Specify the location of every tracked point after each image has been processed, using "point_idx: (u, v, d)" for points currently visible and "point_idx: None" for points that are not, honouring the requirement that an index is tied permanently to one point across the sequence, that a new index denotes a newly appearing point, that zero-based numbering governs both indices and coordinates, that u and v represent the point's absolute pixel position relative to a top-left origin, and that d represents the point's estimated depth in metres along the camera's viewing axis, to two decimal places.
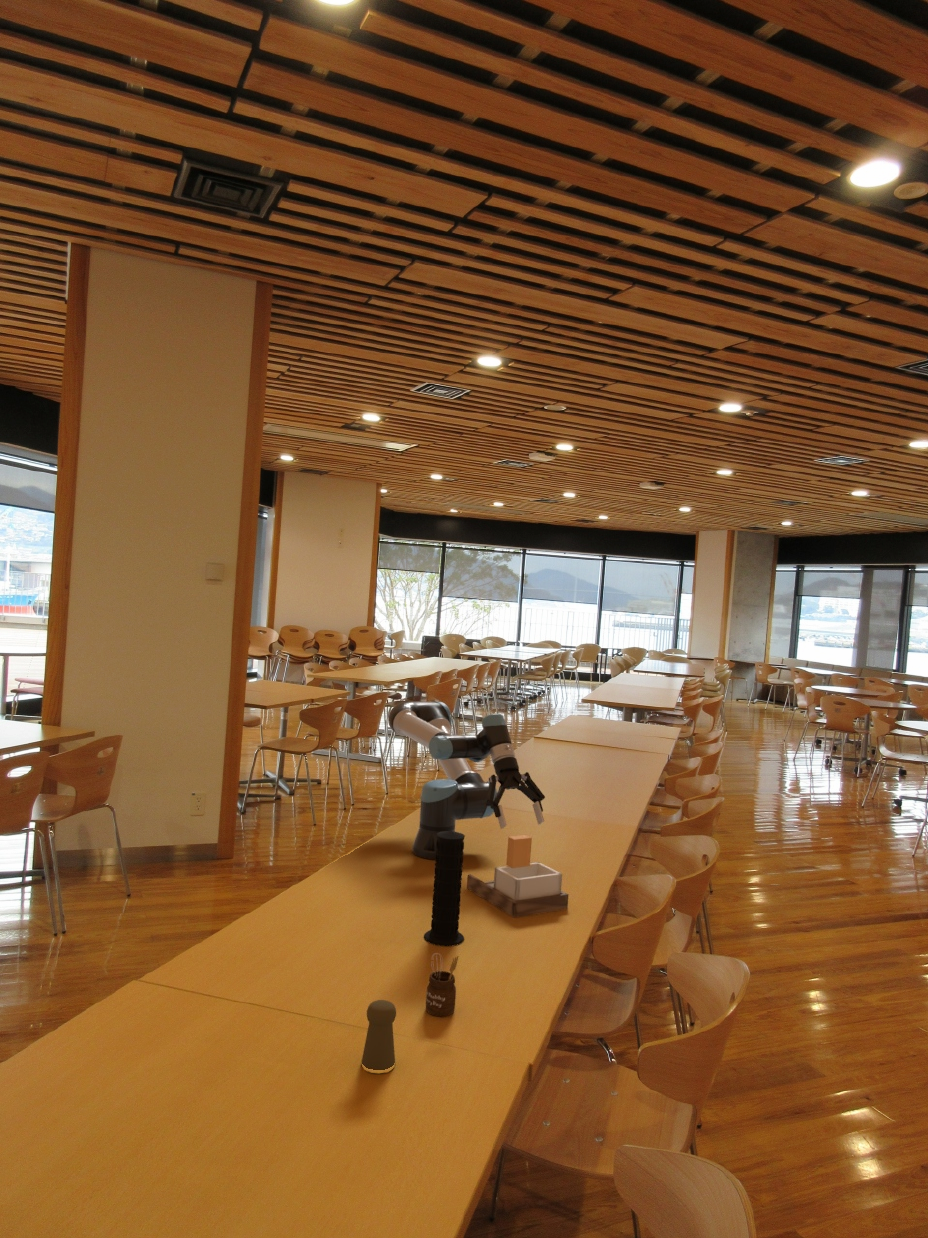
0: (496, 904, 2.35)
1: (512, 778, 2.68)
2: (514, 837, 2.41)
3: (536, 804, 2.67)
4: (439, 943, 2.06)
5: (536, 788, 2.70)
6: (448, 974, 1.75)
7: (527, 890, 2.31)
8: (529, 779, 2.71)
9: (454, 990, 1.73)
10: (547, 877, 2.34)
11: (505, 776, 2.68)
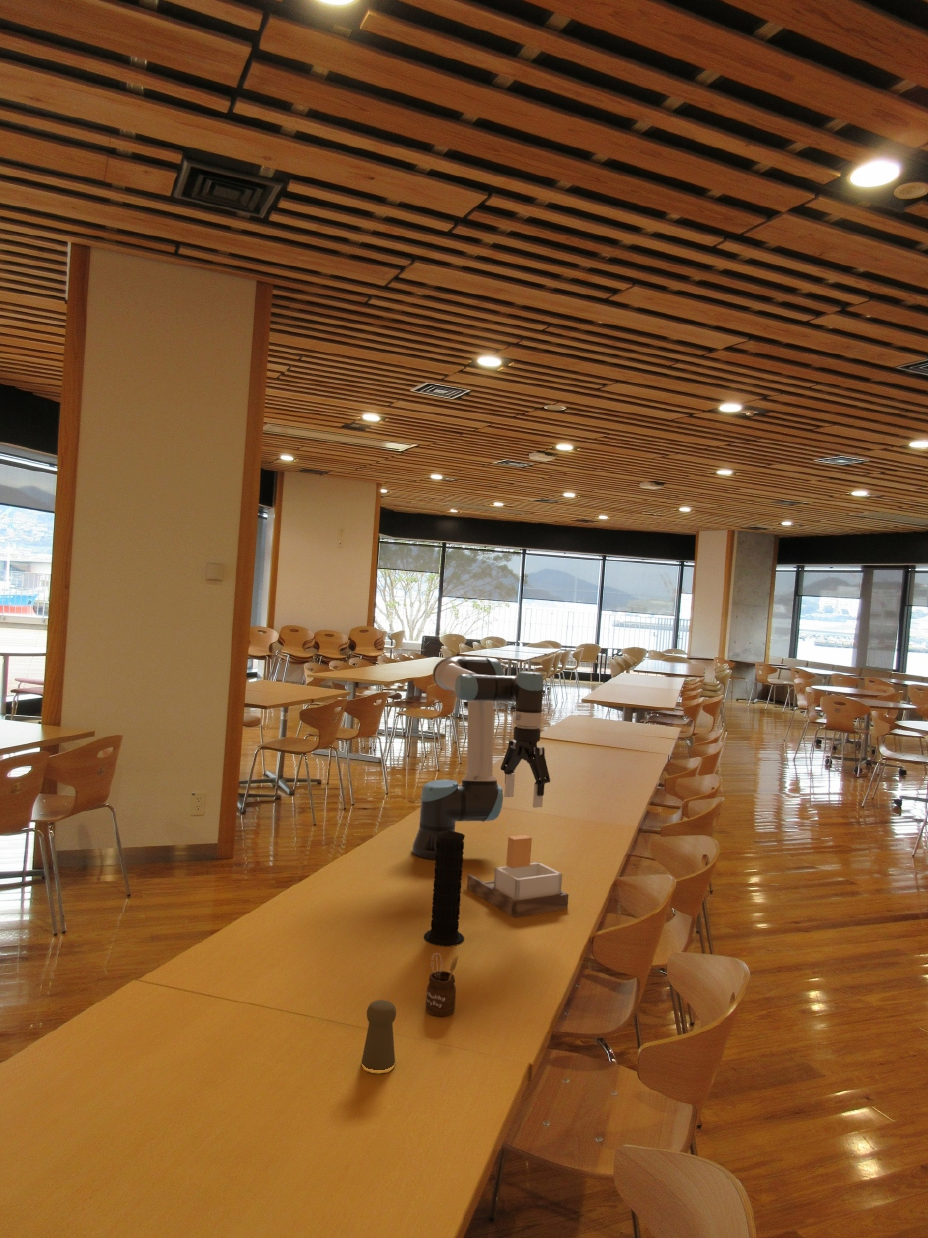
0: (496, 904, 2.35)
1: None
2: (514, 837, 2.41)
3: None
4: (439, 943, 2.06)
5: (538, 769, 2.35)
6: (448, 974, 1.75)
7: (527, 890, 2.31)
8: (536, 756, 2.37)
9: (454, 990, 1.73)
10: (547, 877, 2.34)
11: (518, 745, 2.44)
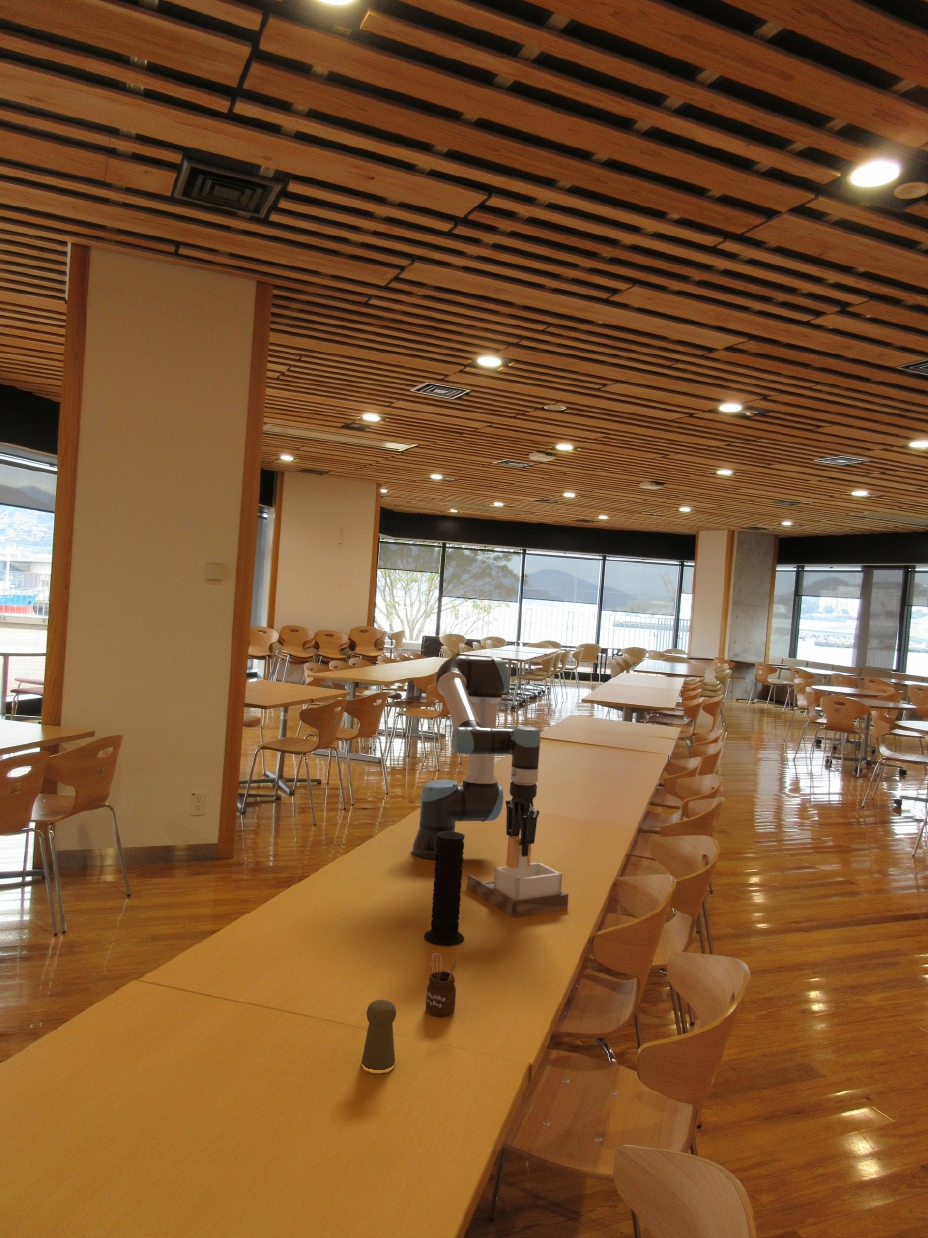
0: (496, 904, 2.35)
1: (519, 804, 2.41)
2: (514, 837, 2.41)
3: None
4: (439, 943, 2.06)
5: (527, 830, 2.37)
6: (448, 974, 1.75)
7: (527, 890, 2.31)
8: (528, 818, 2.37)
9: (454, 990, 1.73)
10: (547, 877, 2.34)
11: (514, 798, 2.43)
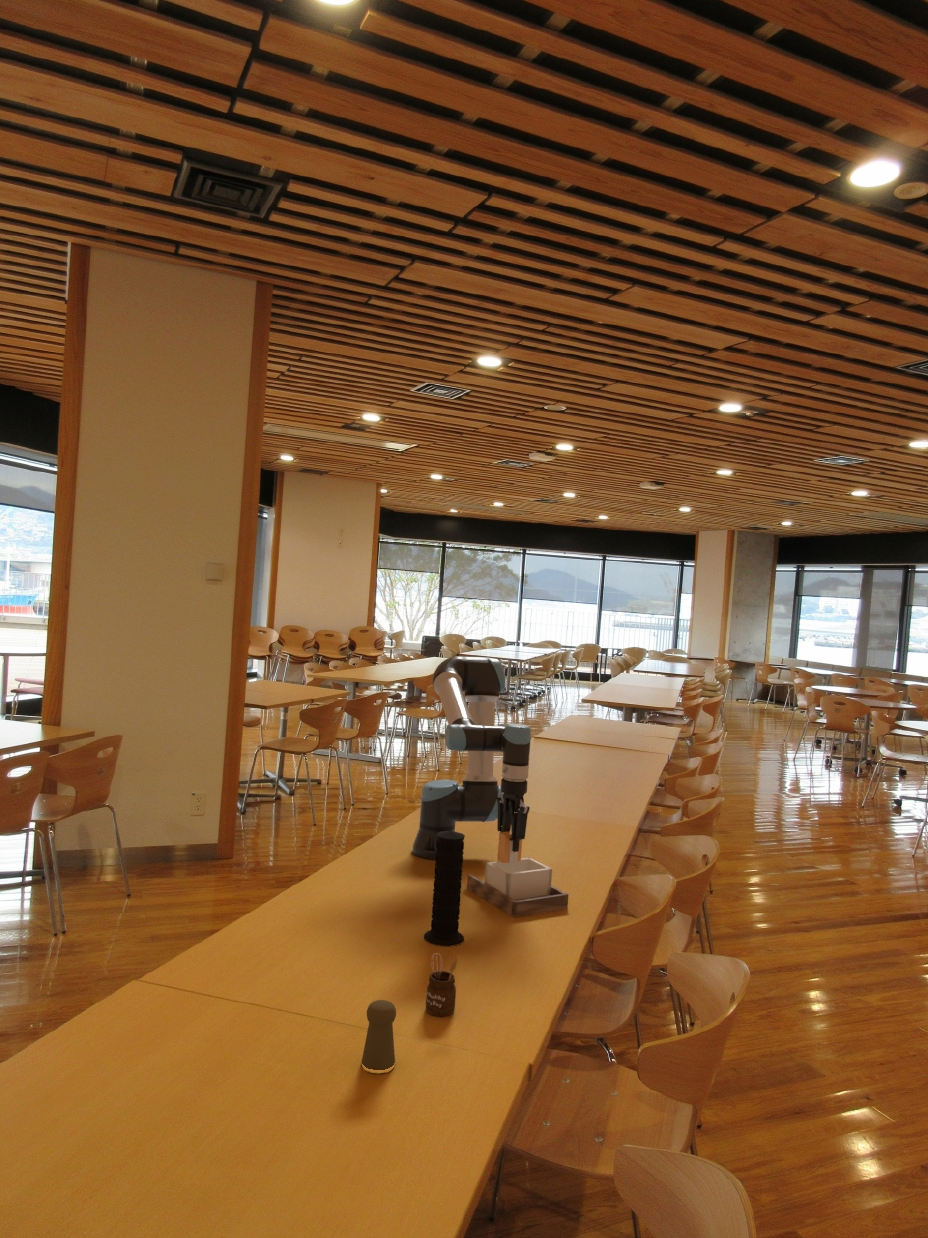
0: (496, 904, 2.35)
1: None
2: (505, 833, 2.45)
3: None
4: (439, 943, 2.06)
5: (517, 826, 2.41)
6: (448, 974, 1.75)
7: (517, 885, 2.35)
8: (519, 814, 2.41)
9: (454, 990, 1.73)
10: (537, 872, 2.38)
11: (505, 795, 2.47)
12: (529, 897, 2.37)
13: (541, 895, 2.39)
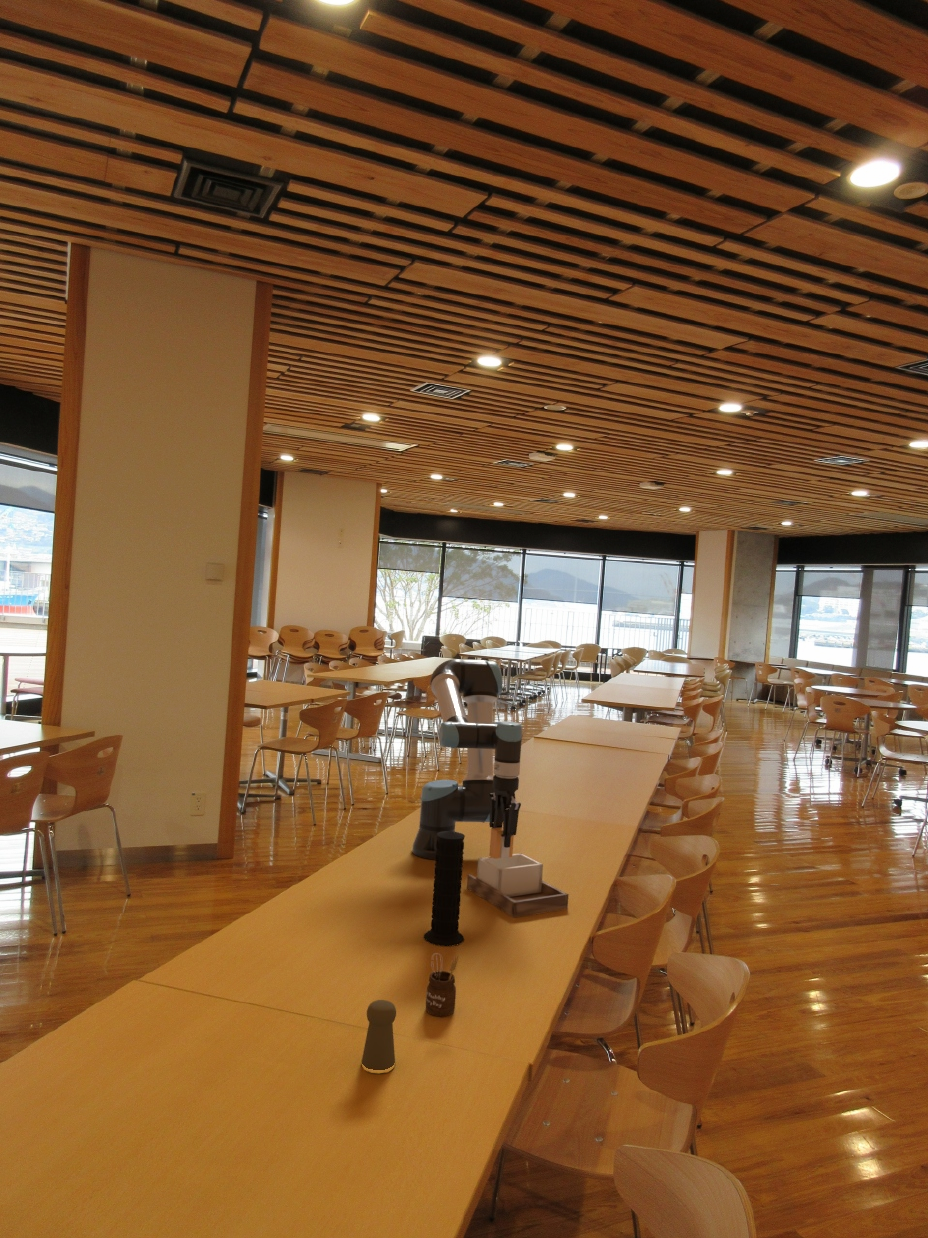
0: (496, 904, 2.35)
1: (502, 796, 2.48)
2: (497, 829, 2.49)
3: None
4: (439, 943, 2.06)
5: (509, 822, 2.45)
6: (448, 974, 1.75)
7: (509, 880, 2.39)
8: (510, 810, 2.44)
9: (454, 990, 1.73)
10: (528, 867, 2.42)
11: (497, 791, 2.51)
12: (520, 892, 2.41)
13: (532, 890, 2.43)
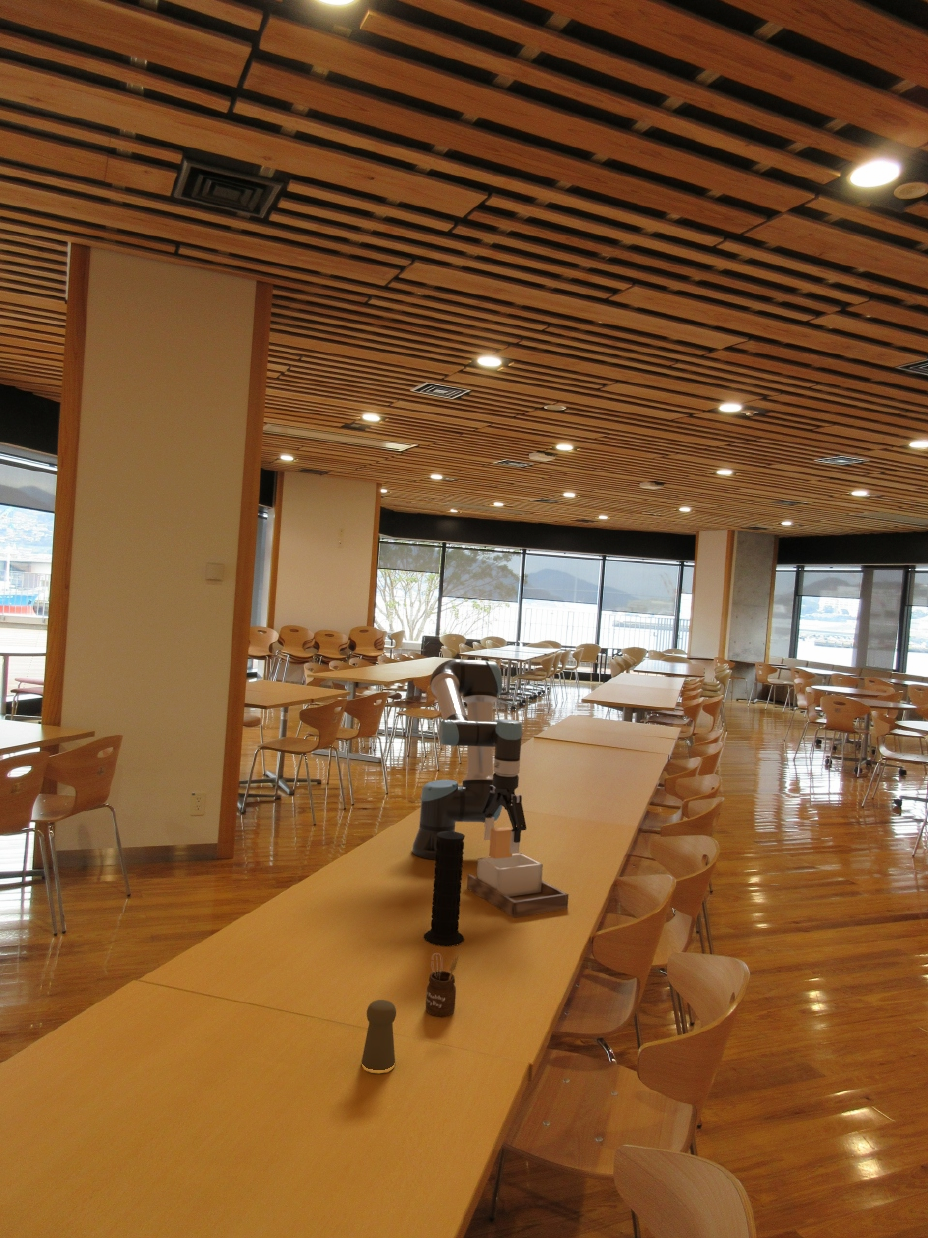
0: (496, 904, 2.35)
1: None
2: (497, 829, 2.49)
3: None
4: (439, 943, 2.06)
5: (515, 816, 2.42)
6: (448, 974, 1.75)
7: (508, 880, 2.39)
8: (513, 804, 2.43)
9: (454, 990, 1.73)
10: (528, 867, 2.42)
11: (497, 791, 2.51)
12: (520, 892, 2.41)
13: (532, 890, 2.43)
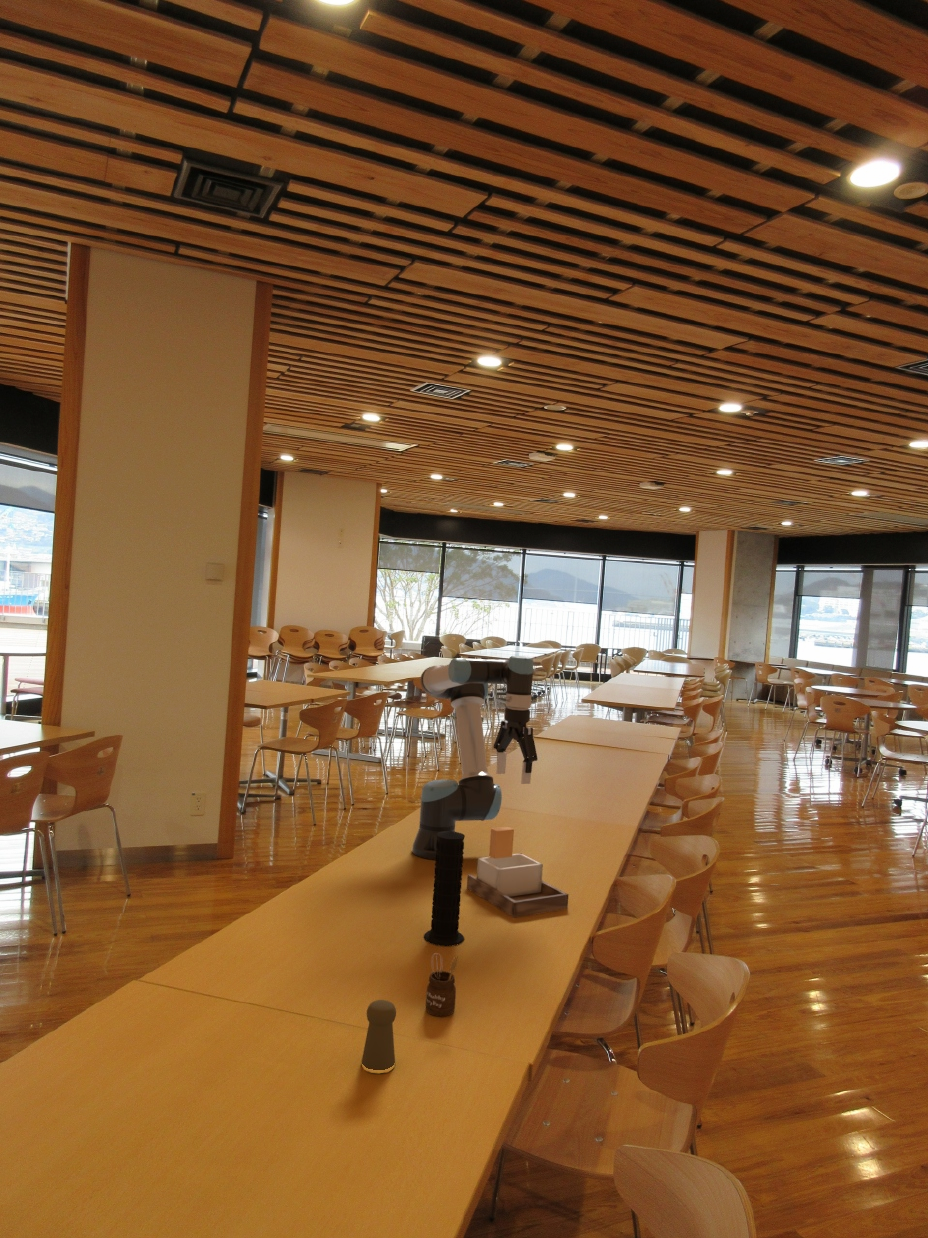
0: (496, 904, 2.35)
1: None
2: (497, 829, 2.49)
3: None
4: (439, 943, 2.06)
5: (527, 747, 2.50)
6: (448, 974, 1.75)
7: (508, 880, 2.39)
8: (524, 736, 2.51)
9: (454, 990, 1.73)
10: (528, 867, 2.42)
11: (509, 726, 2.58)
12: (520, 892, 2.41)
13: (532, 890, 2.43)
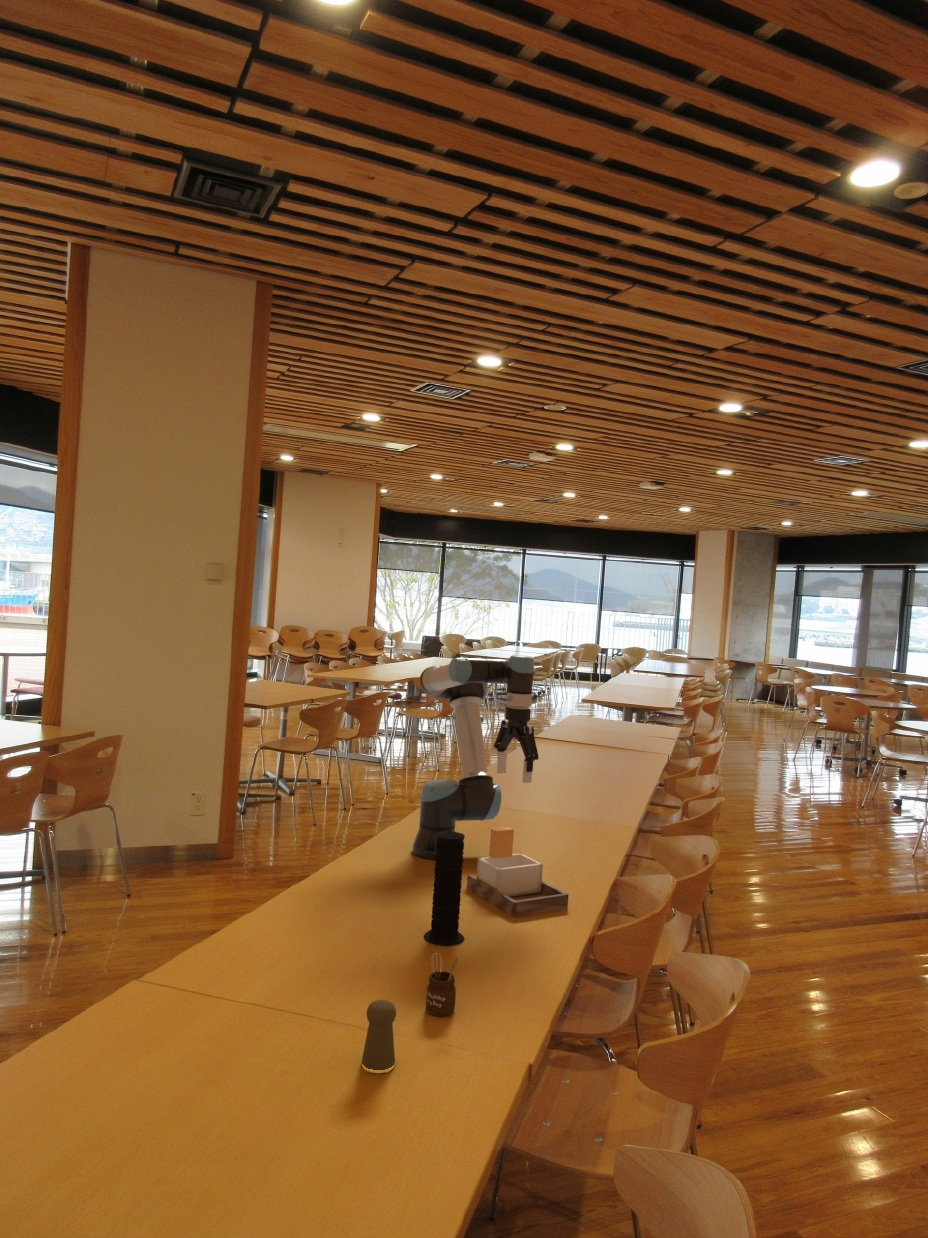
0: (496, 904, 2.35)
1: None
2: (497, 829, 2.49)
3: None
4: (439, 943, 2.06)
5: (528, 746, 2.50)
6: (448, 974, 1.75)
7: (508, 880, 2.39)
8: (525, 735, 2.52)
9: (454, 990, 1.73)
10: (528, 867, 2.42)
11: (510, 725, 2.59)
12: (520, 892, 2.41)
13: (532, 890, 2.43)
